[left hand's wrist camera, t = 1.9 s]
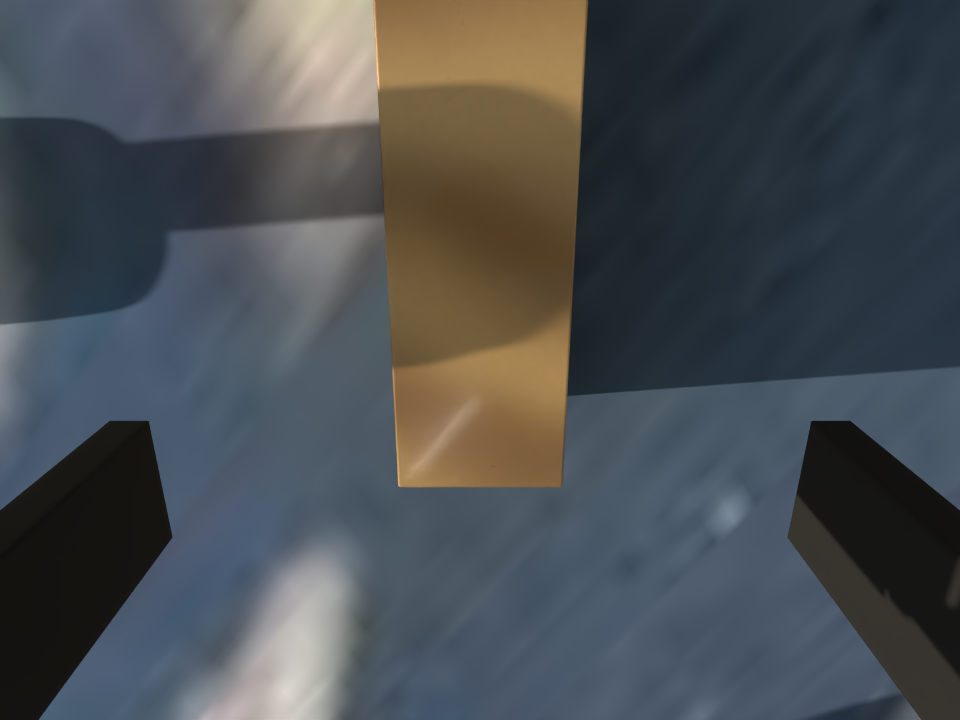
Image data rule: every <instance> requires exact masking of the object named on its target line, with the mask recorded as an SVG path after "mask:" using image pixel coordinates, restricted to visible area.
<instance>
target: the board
mask: <svg viewBox="0 0 960 720" xmlns="http://www.w3.org/2000/svg"><path fill="white" fill-rule="evenodd" d="M373 9H374V28H375V47H376V66H377V85H378V104H379V123H380V142H381V161H382V181H383V200H384V219H385V238H386V257H387V276H388V295H389V314H390V333H391V352H392V371H393V390H394V409H395V428H396V447H397V466H398V485H399V487H562V485H563V467H564V448H565V430H566V411H567V392H568V373H569V354H570V336H571V317H572V298H573V279H574V260H575V242H576V223H577V204H578V185H579V166H580V147H581V129H582V110H583V91H584V72H585V53H586V35H587V16H588V0H373Z"/></svg>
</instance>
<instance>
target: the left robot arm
mask: <svg viewBox="0 0 960 720" xmlns="http://www.w3.org/2000/svg"><path fill="white" fill-rule="evenodd" d="M171 539H172V533H171V528H170V523H169V518H168V513H167V509H166V504H165V499H164V494H163V489H162V484H161V479H160V474H159V470H158V465H157V460H156V455H155V450H154V445H153V440H152V435H151V431H150V426H149V421H109V422H108V423H107V424H106V425H104V426H103V427H102V428H101V429H99V430H98V431H97V432H96V433H95V434H93V435H92V436H91V437H90V438H88V439H87V440H86V441H85V442H83V443H82V444H81V445H80V446H79V447H77V448H76V449H75V450H74V451H72V452H71V453H70V454H69V455H68V456H66V457H65V458H64V459H63V460H61V461H60V462H59V463H58V464H57V465H55V466H54V467H53V468H52V469H50V470H49V471H48V472H47V473H46V474H44V475H43V476H42V477H41V478H39V479H38V480H37V481H36V482H35V483H33V484H32V485H31V486H30V487H28V488H27V489H26V490H25V491H23V492H22V493H21V494H20V495H19V496H17V497H16V498H15V499H14V500H12V501H11V502H10V503H9V504H8V505H6V506H5V507H4V508H3V509H1V510H0V720H39V718H40V717H41V716H42V714H43V713H44V712H45V710H46V709H47V707H48V706H49V705H50V703H51V702H52V701H53V699H54V698H55V697H56V695H57V694H58V692H59V691H60V690H61V688H62V687H63V686H64V684H65V683H66V682H67V680H68V679H69V677H70V676H71V675H72V673H73V672H74V671H75V669H76V668H77V667H78V665H79V664H80V663H81V661H82V660H83V658H84V657H85V656H86V654H87V653H88V652H89V650H90V649H91V648H92V646H93V645H94V643H95V642H96V641H97V639H98V638H99V637H100V635H101V634H102V633H103V631H104V630H105V628H106V627H107V626H108V624H109V623H110V622H111V620H112V619H113V618H114V616H115V615H116V614H117V612H118V611H119V609H120V608H121V607H122V605H123V604H124V603H125V601H126V600H127V599H128V597H129V596H130V594H131V593H132V592H133V590H134V589H135V588H136V586H137V585H138V584H139V582H140V581H141V579H142V578H143V577H144V575H145V574H146V573H147V571H148V570H149V569H150V567H151V566H152V565H153V563H154V562H155V560H156V559H157V558H158V556H159V555H160V554H161V552H162V551H163V550H164V548H165V547H166V545H167V544H168V543H169V541H170V540H171ZM788 539H789V540H790V541H791V543H792V544H793V545H794V547H795V548H796V550H797V551H798V552H799V554H800V555H801V556H802V558H803V559H804V560H805V562H806V563H807V565H808V566H809V567H810V569H811V570H812V571H813V573H814V574H815V575H816V577H817V578H818V579H819V581H820V582H821V584H822V585H823V586H824V588H825V589H826V590H827V592H828V593H829V594H830V596H831V597H832V599H833V600H834V601H835V603H836V604H837V605H838V607H839V608H840V609H841V611H842V612H843V614H844V615H845V616H846V618H847V619H848V620H849V622H850V623H851V624H852V626H853V627H854V628H855V630H856V631H857V633H858V634H859V635H860V637H861V638H862V639H863V641H864V642H865V643H866V645H867V646H868V648H869V649H870V650H871V652H872V653H873V654H874V656H875V657H876V658H877V660H878V661H879V663H880V664H881V665H882V667H883V668H884V669H885V671H886V672H887V673H888V675H889V676H890V677H891V679H892V680H893V682H894V683H895V684H896V686H897V687H898V688H899V690H900V691H901V692H902V694H903V695H904V697H905V698H906V699H907V701H908V702H909V703H910V705H911V706H912V707H913V709H914V710H915V712H916V713H917V714H918V716H919V717H920V718H921V720H960V510H959V509H957V508H956V507H955V506H954V505H952V504H951V503H950V502H949V501H948V500H946V499H945V498H944V497H943V496H941V495H940V494H939V493H938V492H937V491H935V490H934V489H933V488H932V487H930V486H929V485H928V484H927V483H925V482H924V481H923V480H922V479H921V478H919V477H918V476H917V475H916V474H914V473H913V472H912V471H911V470H910V469H908V468H907V467H906V466H905V465H903V464H902V463H901V462H900V461H899V460H897V459H896V458H895V457H894V456H892V455H891V454H890V453H889V452H888V451H886V450H885V449H884V448H883V447H881V446H880V445H879V444H878V443H877V442H875V441H874V440H873V439H872V438H870V437H869V436H868V435H867V434H865V433H864V432H863V431H862V430H861V429H859V428H858V427H857V426H856V425H854V424H853V423H852V422H851V421H811V426H810V431H809V435H808V440H807V445H806V450H805V455H804V460H803V465H802V470H801V474H800V479H799V484H798V489H797V494H796V499H795V504H794V509H793V513H792V518H791V523H790V528H789V533H788Z"/></svg>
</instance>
